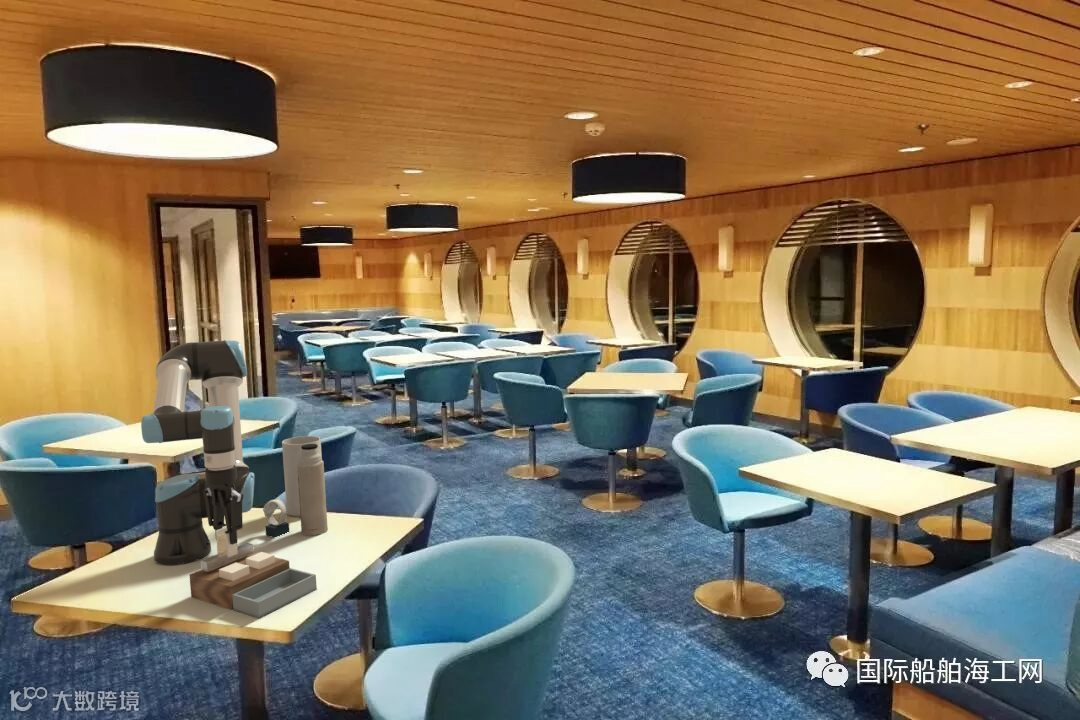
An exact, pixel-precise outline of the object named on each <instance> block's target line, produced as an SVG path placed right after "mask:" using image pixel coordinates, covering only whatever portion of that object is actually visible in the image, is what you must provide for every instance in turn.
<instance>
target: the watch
mask: <svg viewBox="0 0 1080 720" xmlns="http://www.w3.org/2000/svg"><path fill="white" fill-rule="evenodd" d="M278 508H279V509H280V515H279V518H278V519H279V520H278V521H277V520H276V519H275V517H274V516H273V514H274V513H275V511H276V510H277V509H278ZM262 511H263V513H264V517H265V518H266V520H267V521H268V523H269V524H267V525H265V526H264V528H265V536H266V535H267V536H266V537H269V536H272V537H271V538H274V537H277V536H279V537H281V536H280V535H282V534H284V535H286V534H285V533H287V532H289V533H290V523H289V522H288V521H287V522H286V520H287V518H288V513H287V507H286V504H285V502H284V501H283V500H281V499H279V498H276V499H271V500H269V501H267V502H266V503H265V505H264V506H263V508H262ZM287 534H288V533H287ZM282 536H283V535H282ZM277 538H278V537H277Z"/></svg>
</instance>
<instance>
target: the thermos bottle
mask: <svg viewBox="0 0 1080 720" xmlns="http://www.w3.org/2000/svg"><path fill="white" fill-rule="evenodd" d="M317 447H318V445H317V444H306V445H302V446H301V449H302V451H301V453H302V455H300V456H299V463H297V472H298V487H299V502H300V531H301V534H302V533H303V534H305V535H304V536H307V535H314V536H318V534H319V535H323V534H325V533H326V532H328V527H329V526H328V514H327V511H328V510H327V499H326V498H327V496H326V480H325V479H326V478H325V467H324V465H325V463H324V460H323V459H322V460H321V455H322V454H321V455H320V454H319V453H318V449H317ZM322 533H323V534H322ZM303 534H302V535H303Z"/></svg>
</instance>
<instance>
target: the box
mask: <svg viewBox="0 0 1080 720" xmlns="http://www.w3.org/2000/svg"><path fill="white" fill-rule="evenodd" d="M317 590H318V589H317V575H316V574H315V573H311V572H307V571H303V570H298V569H296V568H292V567H290V569H287V570H285V571H283V572H281V573H279V574H276V575H274V576H272V577H270V578H268V579H266V580H263V581H261V582H259V583H257V584H255V585H252V586H250V587H248V588H246V589H244V590H241V591H239V592H237V593H235V594H233V595H232V599H233V610H232V611H234V612H238V613H241V614H243V615H247V616H250V617H254V618H257V619H260V620H261V617H262V618H263V616H264V617H266V616H267V615H269V614H272V613H273V612H275V611H277V610H279V609H281V608H283V607H286V606H287V605H290V604H291V603H292V602H295V601H297V600H299V599H301V598H303V597H305V596H306V595H308V594H309V595H310V594H311V593H313V592H314V591H317Z"/></svg>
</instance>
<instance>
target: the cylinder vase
mask: <svg viewBox="0 0 1080 720" xmlns="http://www.w3.org/2000/svg"><path fill="white" fill-rule="evenodd" d="M306 444H317V445H318V447H317V449H318V453H319V454H320V455H321V460H322V461H323V458H322V455H323V454H322V442H321V437H320V436H315V435H313V436H312V435H305V436H304V435H303V436H295V437H290V438H286V439H283V440H282V441H281V445H282V446H281V447H282V450H281V451H282V461H283V477H284V489H285V501H286V502H285V503H286V504H285V506H286V509H287V515H288V516H292V517H298V516H300V502H299V487H298V472H297V463H299V456H300V455H302V453H301V451H302V449H301V446H302V445H306Z"/></svg>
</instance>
